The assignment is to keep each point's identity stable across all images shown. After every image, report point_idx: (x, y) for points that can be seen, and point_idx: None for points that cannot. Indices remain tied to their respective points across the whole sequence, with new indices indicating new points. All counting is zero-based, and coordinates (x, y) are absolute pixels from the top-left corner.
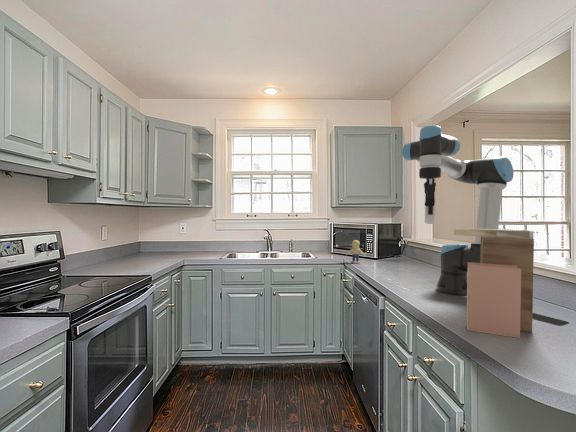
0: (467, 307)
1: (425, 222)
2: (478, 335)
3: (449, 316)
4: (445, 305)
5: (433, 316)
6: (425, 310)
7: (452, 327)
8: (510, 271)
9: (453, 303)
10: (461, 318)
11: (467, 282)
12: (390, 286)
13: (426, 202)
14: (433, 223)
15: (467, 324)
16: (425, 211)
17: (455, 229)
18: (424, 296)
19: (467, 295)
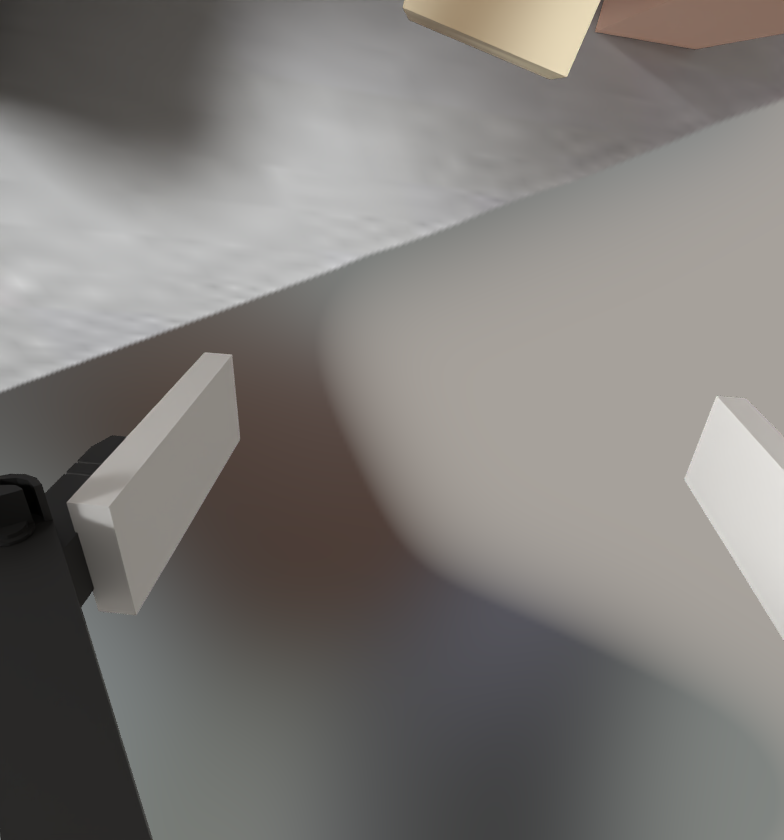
0: (685, 32)
1: (237, 433)
2: None
3: (492, 104)
4: (287, 92)
5: (513, 187)
6: (423, 214)
7: (664, 119)
8: None
9: (221, 32)
10: None
11: (690, 7)
12: (25, 352)
13: (101, 674)
14: (745, 409)
15: (682, 44)
16: (177, 539)
17: (577, 48)
18: (145, 189)
19: (687, 21)
